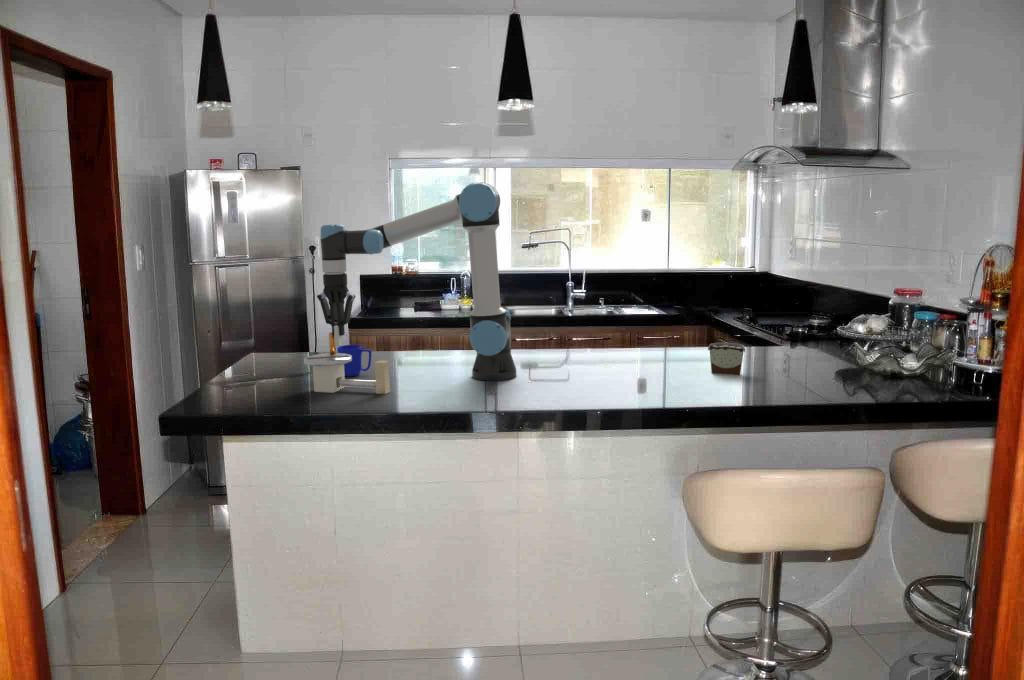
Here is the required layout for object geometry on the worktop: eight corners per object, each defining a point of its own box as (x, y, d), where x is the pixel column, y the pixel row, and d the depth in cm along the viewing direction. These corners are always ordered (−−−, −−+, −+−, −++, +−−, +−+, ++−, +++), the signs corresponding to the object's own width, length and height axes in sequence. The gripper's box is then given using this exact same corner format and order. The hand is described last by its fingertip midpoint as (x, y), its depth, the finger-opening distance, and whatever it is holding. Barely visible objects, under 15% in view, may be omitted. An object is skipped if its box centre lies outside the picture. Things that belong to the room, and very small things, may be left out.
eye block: (345, 387, 255) (343, 360, 254) (333, 392, 248) (332, 365, 247) (326, 386, 257) (324, 359, 256) (314, 391, 250) (312, 364, 249)
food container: (747, 372, 266) (748, 343, 264) (744, 376, 260) (745, 346, 258) (710, 369, 271) (711, 341, 269) (707, 373, 265) (707, 344, 263)
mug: (367, 378, 268) (366, 349, 266) (334, 377, 270) (333, 348, 269) (376, 373, 276) (375, 345, 274) (344, 372, 278) (343, 344, 276)
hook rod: (390, 391, 248) (388, 360, 246) (385, 394, 245) (383, 362, 243) (320, 387, 256) (318, 357, 254) (314, 389, 253) (312, 359, 251)
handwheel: (353, 355, 259) (351, 331, 258) (350, 364, 245) (349, 339, 243) (306, 357, 257) (305, 333, 256) (301, 367, 243) (299, 341, 241)
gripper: (358, 272, 253) (362, 343, 257) (323, 271, 256) (327, 342, 261) (347, 274, 246) (351, 348, 250) (310, 274, 249) (315, 346, 254)
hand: (339, 345), depth 255 cm, fingers closed
